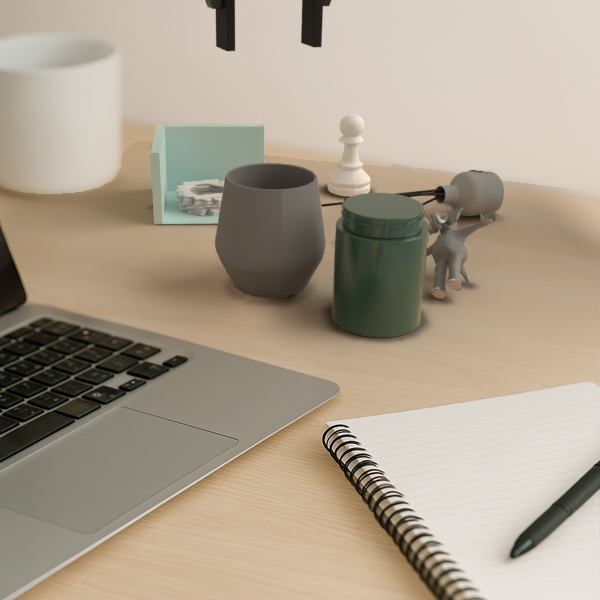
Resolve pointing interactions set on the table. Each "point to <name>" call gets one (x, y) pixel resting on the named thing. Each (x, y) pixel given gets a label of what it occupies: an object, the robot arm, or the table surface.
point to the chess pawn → (350, 161)
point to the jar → (379, 265)
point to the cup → (270, 228)
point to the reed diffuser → (465, 193)
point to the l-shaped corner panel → (198, 167)
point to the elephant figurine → (451, 249)
